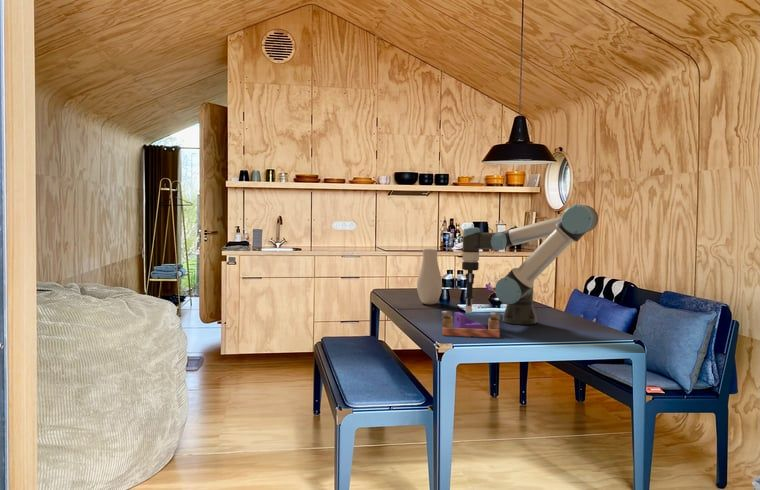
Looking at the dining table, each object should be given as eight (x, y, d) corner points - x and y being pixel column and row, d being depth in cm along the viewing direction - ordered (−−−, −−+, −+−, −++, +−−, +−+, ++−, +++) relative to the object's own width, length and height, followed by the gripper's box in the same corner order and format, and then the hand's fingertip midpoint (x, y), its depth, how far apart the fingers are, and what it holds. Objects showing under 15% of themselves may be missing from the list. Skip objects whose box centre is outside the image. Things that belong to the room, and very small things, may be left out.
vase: (429, 301, 345) (430, 248, 343) (447, 304, 334) (447, 249, 333) (411, 303, 336) (412, 248, 334) (429, 306, 325) (429, 250, 324)
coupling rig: (499, 332, 256) (499, 311, 256) (500, 337, 246) (501, 315, 246) (441, 330, 260) (442, 309, 259) (440, 335, 249) (441, 313, 249)
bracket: (460, 330, 261) (460, 314, 261) (454, 327, 268) (454, 312, 268) (486, 329, 264) (486, 314, 264) (479, 326, 271) (480, 311, 271)
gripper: (462, 259, 286) (460, 309, 288) (462, 262, 273) (460, 314, 275) (478, 260, 285) (476, 310, 287) (479, 262, 272) (477, 315, 274)
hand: (468, 312), depth 281 cm, fingers closed
